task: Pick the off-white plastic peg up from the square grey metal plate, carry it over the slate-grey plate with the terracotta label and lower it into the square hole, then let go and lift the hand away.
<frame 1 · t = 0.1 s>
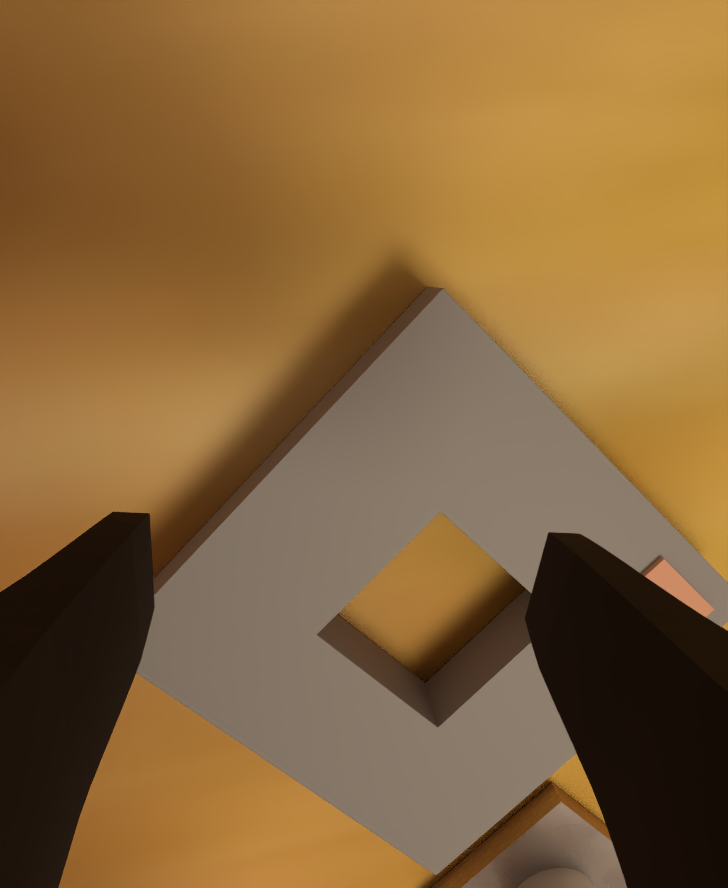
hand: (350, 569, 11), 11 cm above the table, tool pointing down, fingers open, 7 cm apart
hole plate: (425, 589, 23), on the table
square grey metal plate: (544, 880, 28), on the table
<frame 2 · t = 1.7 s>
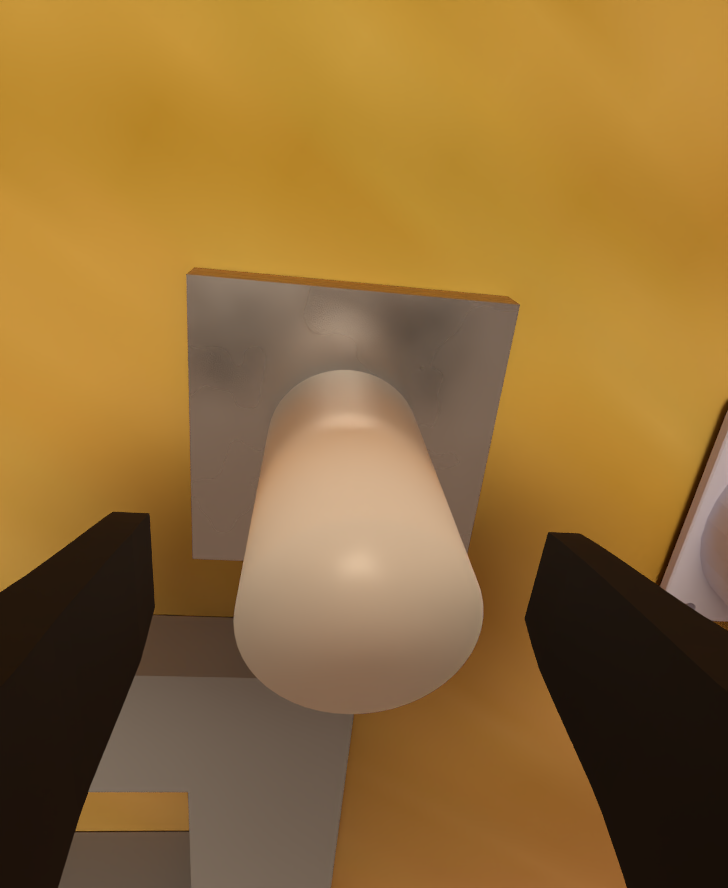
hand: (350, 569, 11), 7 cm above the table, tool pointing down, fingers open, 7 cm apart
hole plate: (121, 781, 22), on the table
peg: (343, 441, 16), point 1 cm above the table, touching square grey metal plate
square grey metal plate: (342, 426, 17), on the table
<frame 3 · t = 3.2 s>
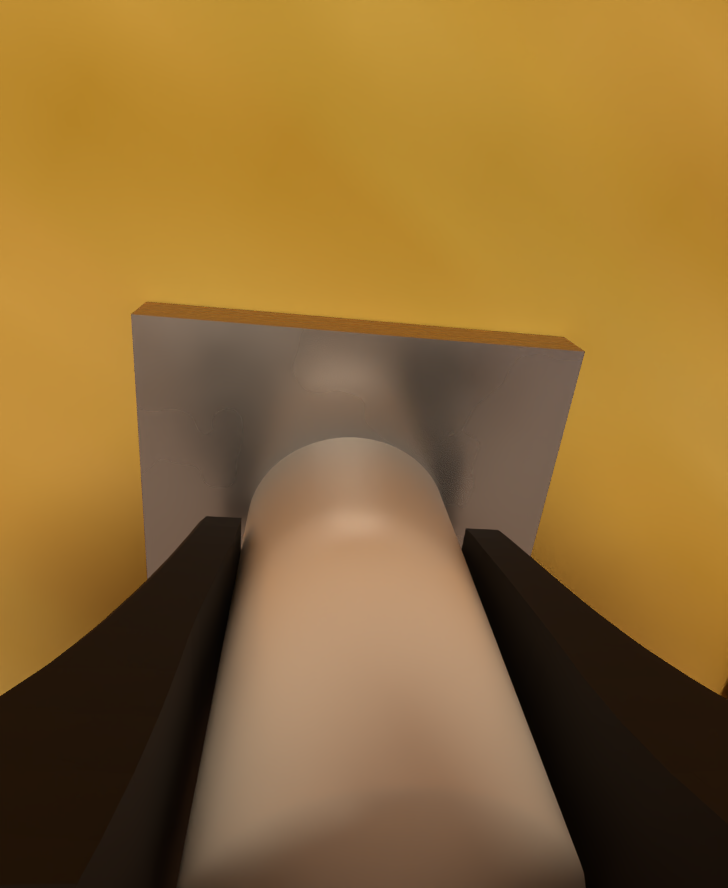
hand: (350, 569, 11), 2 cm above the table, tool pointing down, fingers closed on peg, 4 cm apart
peg: (347, 526, 12), point 1 cm above the table, touching gripper, square grey metal plate
square grey metal plate: (344, 501, 13), on the table
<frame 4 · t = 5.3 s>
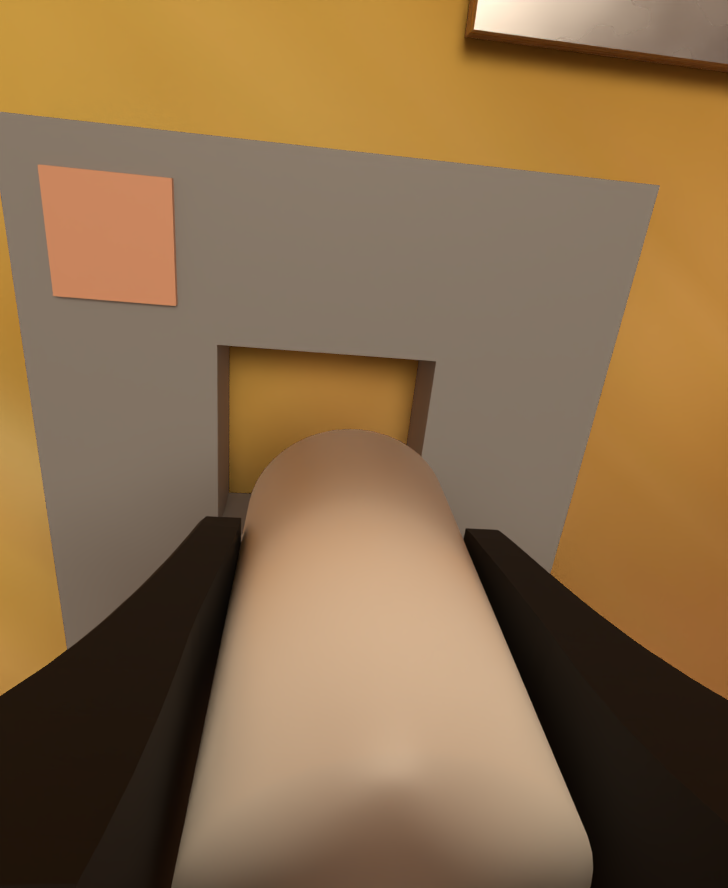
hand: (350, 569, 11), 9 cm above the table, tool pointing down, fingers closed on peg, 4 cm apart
hole plate: (320, 418, 20), on the table
peg: (347, 520, 12), point 8 cm above the table, touching gripper
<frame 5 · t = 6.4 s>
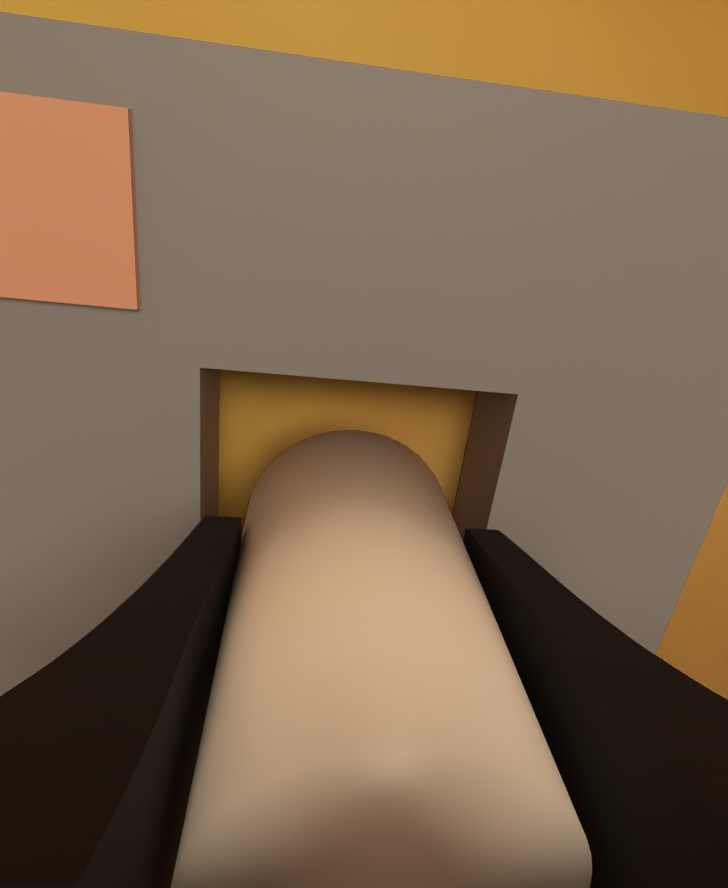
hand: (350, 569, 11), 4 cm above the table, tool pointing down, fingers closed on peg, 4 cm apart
hole plate: (342, 463, 15), on the table
peg: (347, 521, 12), point 3 cm above the table, touching gripper
when the fingers open (3 cm above the table, at t = 7.5 s): peg drops 2 cm, resting in hole plate.
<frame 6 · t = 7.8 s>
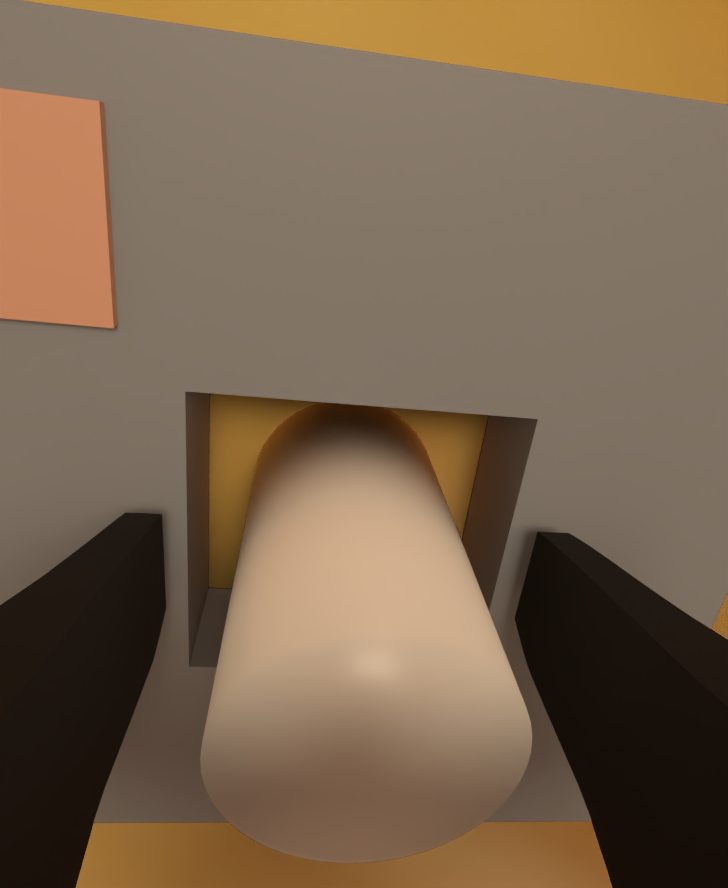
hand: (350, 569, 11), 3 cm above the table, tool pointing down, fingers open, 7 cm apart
hole plate: (343, 488, 14), on the table
peg: (344, 482, 13), resting in hole plate
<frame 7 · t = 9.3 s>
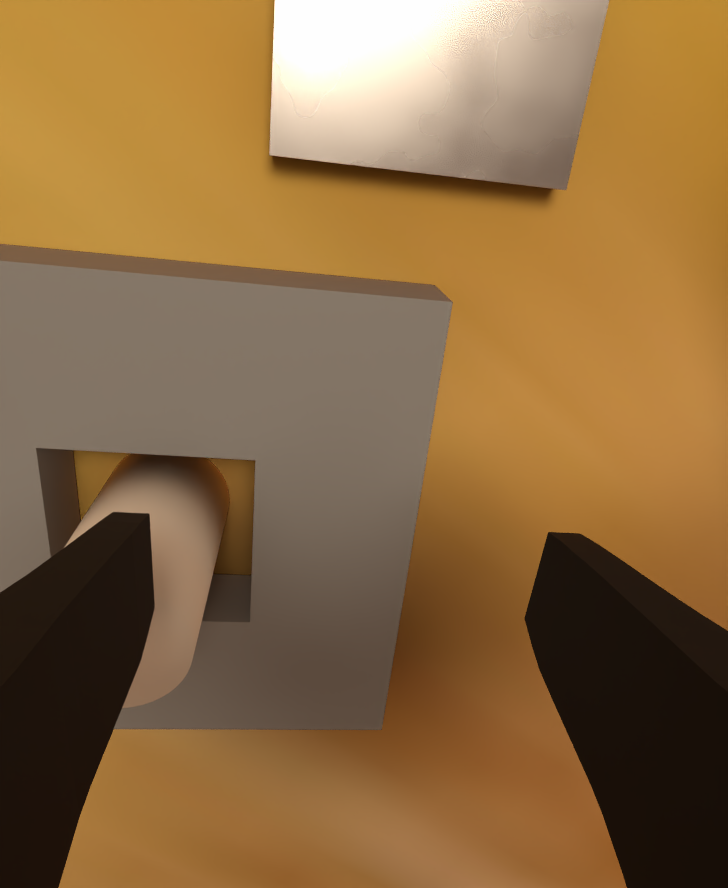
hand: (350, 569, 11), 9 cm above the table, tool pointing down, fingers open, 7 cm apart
hole plate: (169, 501, 20), on the table
peg: (169, 497, 20), resting in hole plate
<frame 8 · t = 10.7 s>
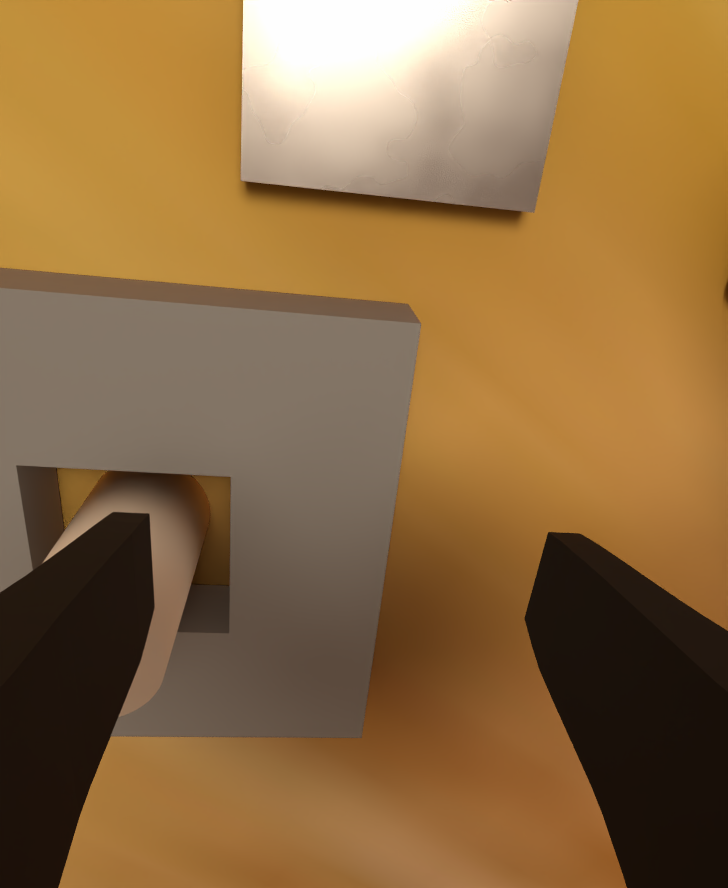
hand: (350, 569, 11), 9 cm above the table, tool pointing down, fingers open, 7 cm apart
hole plate: (151, 513, 21), on the table
peg: (151, 510, 21), resting in hole plate
square grey metal plate: (405, 27, 15), on the table
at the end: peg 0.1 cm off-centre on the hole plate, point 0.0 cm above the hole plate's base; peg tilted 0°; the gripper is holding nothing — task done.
